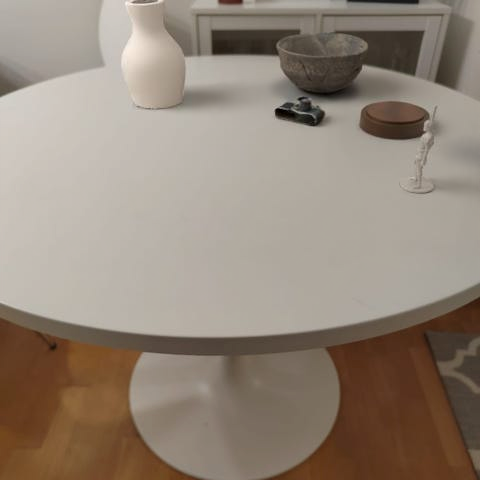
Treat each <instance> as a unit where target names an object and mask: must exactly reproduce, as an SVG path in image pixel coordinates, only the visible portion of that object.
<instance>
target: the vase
mask: <svg viewBox="0 0 480 480" xmlns="http://www.w3.org/2000/svg"><path fill="white" fill-rule="evenodd" d="M124 5H125V9H126V13H127V15H128V17H129V19H130V21H131V26H132V32H131V35H130V37H129V40H127V43H126V45H125V46H124V48H123V51H122V55H121V62H120V64H121V66H120V67H121V71H122V75H123V78H124V80H125V83H126V85H127V88H128V90H129V93H130V95H131V99H132V103H133V102H134V103H135V104H136V105H139V106H141V107H145V108H151V109H150V110H158V109H157V108H163V109H168V108H172V106H173V107H175V106H178V105H180V104H182V103H183V102H184V101H185V83H186V71H187V68H186V67H187V65H186V58H185V54H184V51H183V50H182V48H181V46H180V45H179V44H178V42H177V41H176V40H175V39H174V38H173V37H172V36H171V35H170V33H169V32H168V31H167V29H166V27H165V23H164V16H165V9H166V2H165V0H126V1H125V2H124ZM134 103H133V104H134ZM179 103H180V104H179ZM135 104H134V105H135ZM177 104H178V105H177ZM136 105H135V106H136ZM141 107H140V108H141ZM145 108H144V109H145ZM152 108H153V109H152Z"/></svg>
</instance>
